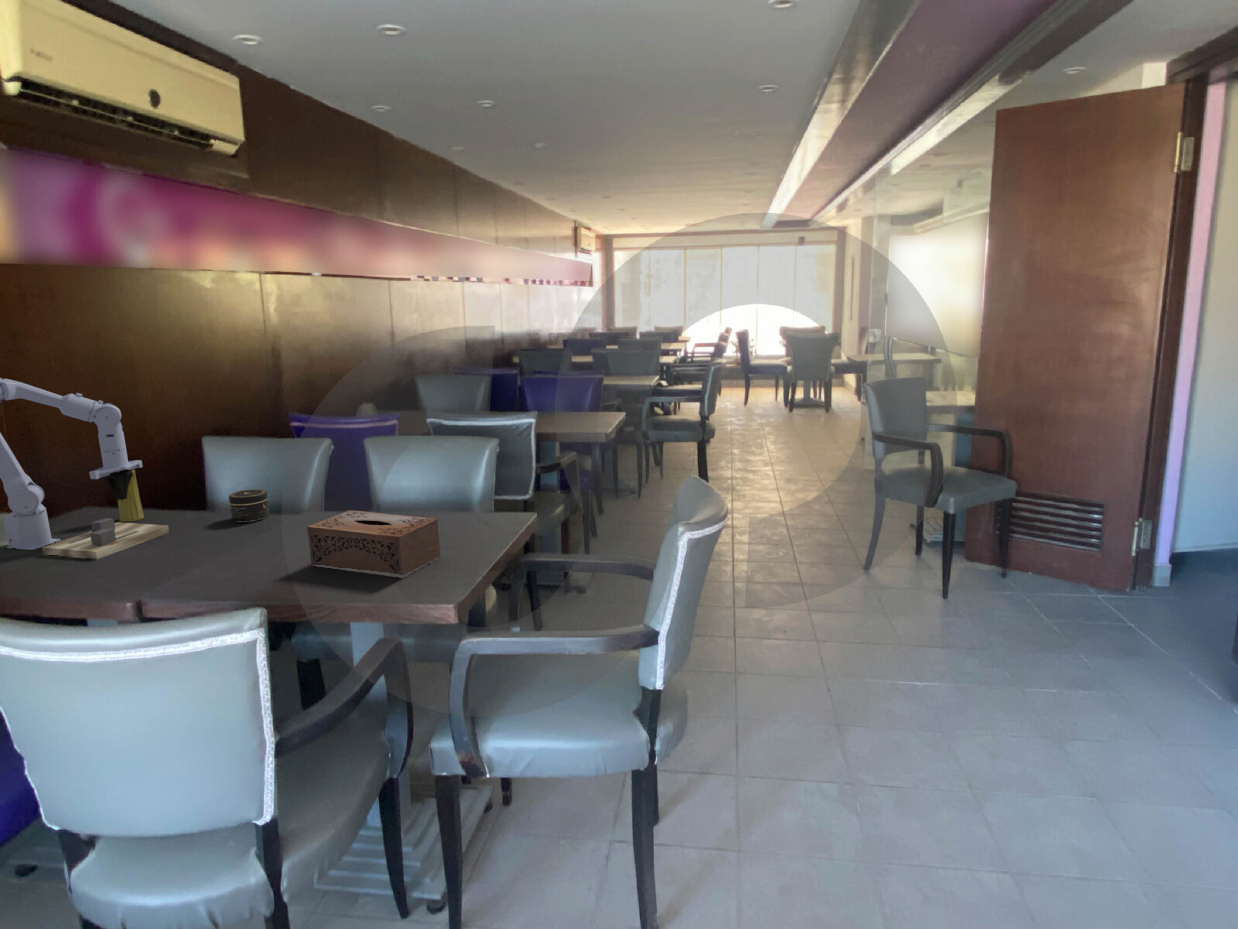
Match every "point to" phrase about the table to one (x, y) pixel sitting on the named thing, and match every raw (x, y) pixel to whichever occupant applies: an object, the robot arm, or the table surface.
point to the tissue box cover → (374, 542)
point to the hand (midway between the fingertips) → (121, 499)
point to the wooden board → (125, 538)
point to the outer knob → (103, 537)
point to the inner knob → (102, 524)
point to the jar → (249, 505)
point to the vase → (131, 503)
